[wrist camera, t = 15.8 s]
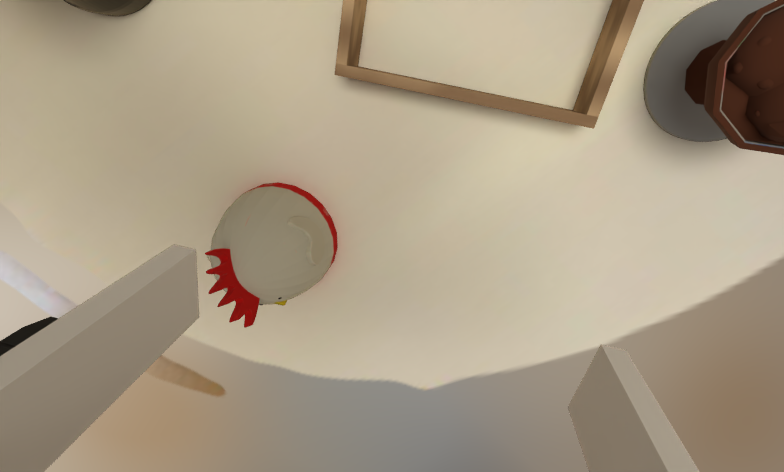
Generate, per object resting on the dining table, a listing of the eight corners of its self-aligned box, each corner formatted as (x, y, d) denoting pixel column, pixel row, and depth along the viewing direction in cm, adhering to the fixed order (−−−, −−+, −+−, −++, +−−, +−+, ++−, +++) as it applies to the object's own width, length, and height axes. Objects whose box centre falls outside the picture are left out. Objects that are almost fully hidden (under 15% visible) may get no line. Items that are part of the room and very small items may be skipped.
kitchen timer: (267, 296, 53) (200, 373, 39) (212, 206, 49) (117, 258, 35) (356, 265, 49) (316, 339, 35) (305, 165, 45) (237, 205, 31)
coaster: (643, 19, 34) (647, 18, 34) (805, -23, 32) (813, -25, 31) (643, 151, 38) (647, 153, 38) (787, 125, 36) (794, 126, 35)
